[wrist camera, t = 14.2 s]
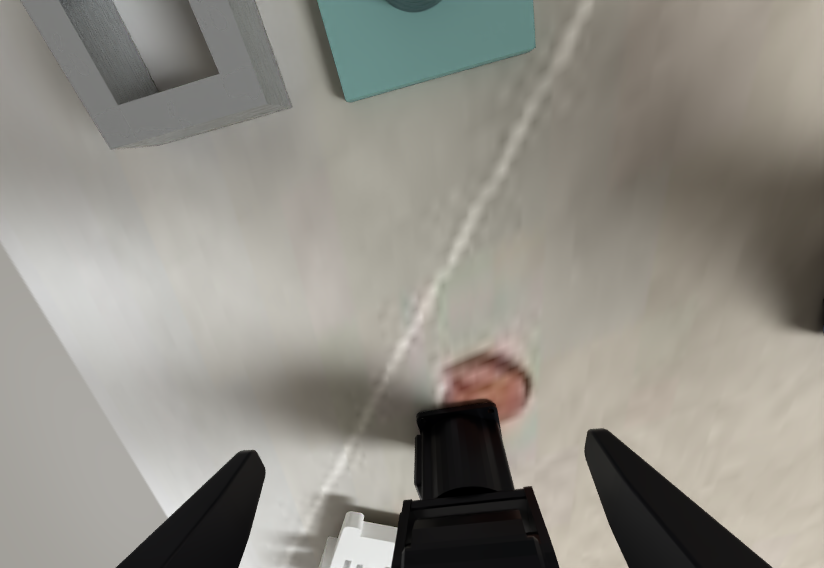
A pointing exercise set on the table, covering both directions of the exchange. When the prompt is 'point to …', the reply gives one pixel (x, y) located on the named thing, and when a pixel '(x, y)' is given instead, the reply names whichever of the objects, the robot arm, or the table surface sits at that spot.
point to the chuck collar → (132, 84)
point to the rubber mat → (420, 40)
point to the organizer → (360, 545)
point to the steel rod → (413, 5)
